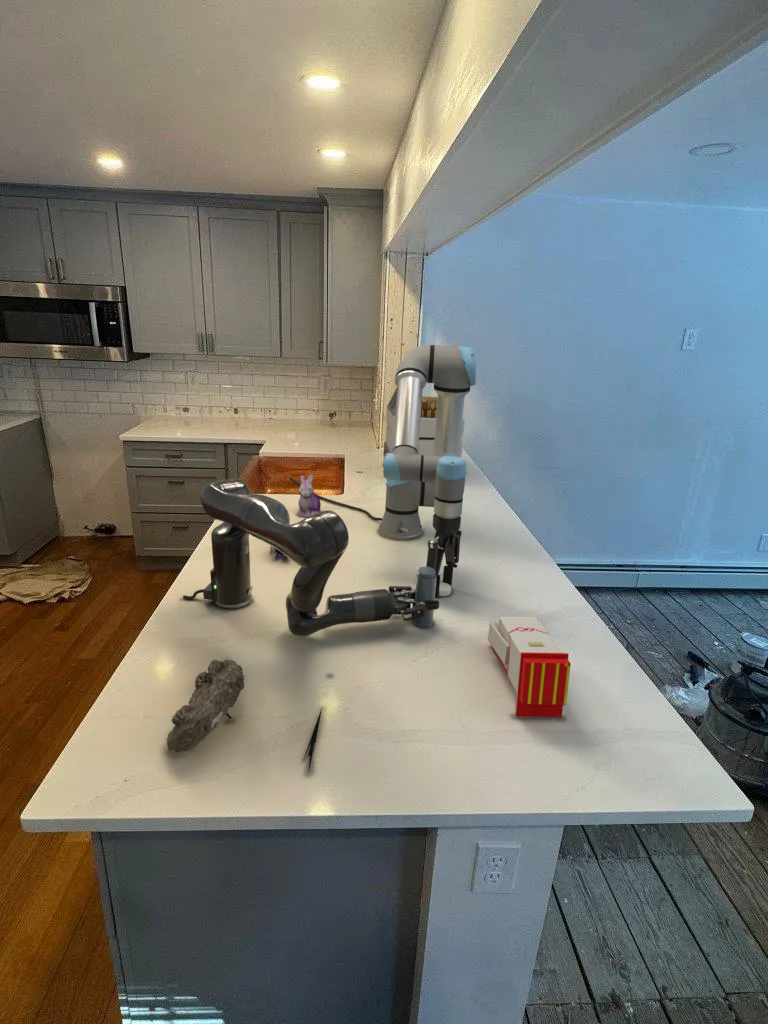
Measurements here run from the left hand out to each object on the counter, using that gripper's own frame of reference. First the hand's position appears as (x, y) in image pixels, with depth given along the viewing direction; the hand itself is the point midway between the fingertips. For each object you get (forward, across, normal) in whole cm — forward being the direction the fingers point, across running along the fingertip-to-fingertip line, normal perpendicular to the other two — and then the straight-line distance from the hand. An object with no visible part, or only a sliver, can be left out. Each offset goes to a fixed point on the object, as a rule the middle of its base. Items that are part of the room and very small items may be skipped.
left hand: (434, 599), depth 143 cm
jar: (-3, 0, +6) cm, 7 cm away
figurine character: (-32, +49, +6) cm, 59 cm away
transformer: (+44, +131, +6) cm, 138 cm away
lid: (+8, +14, +5) cm, 17 cm away
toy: (+11, -26, +6) cm, 29 cm away
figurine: (-18, +84, +6) cm, 86 cm away
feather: (-35, -29, +6) cm, 46 cm away
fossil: (-54, -24, +6) cm, 60 cm away
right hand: (+8, +14, +6) cm, 18 cm away
